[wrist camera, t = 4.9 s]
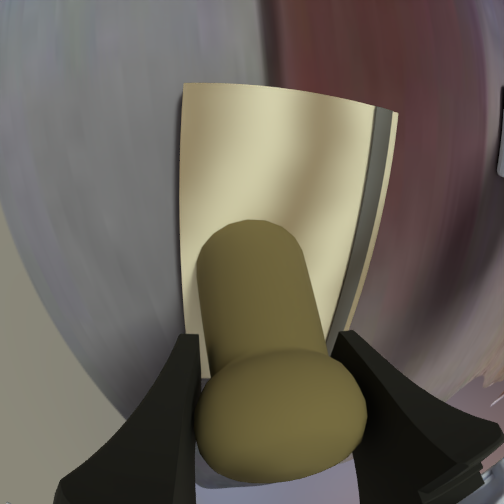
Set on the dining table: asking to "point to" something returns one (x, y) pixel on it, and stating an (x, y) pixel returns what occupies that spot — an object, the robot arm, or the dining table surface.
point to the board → (285, 184)
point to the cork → (269, 363)
